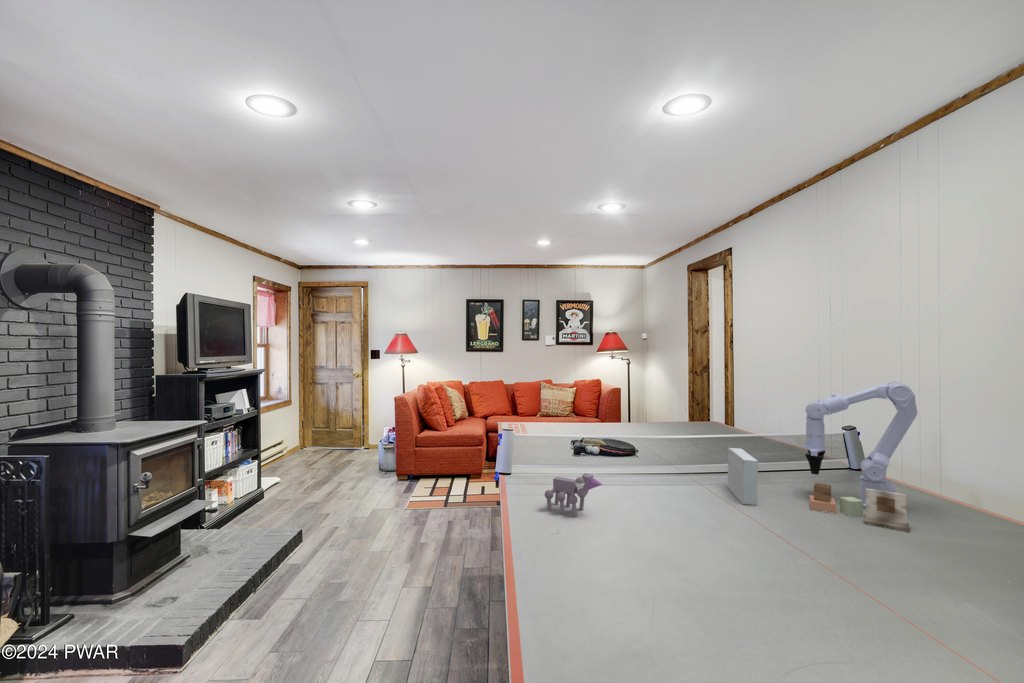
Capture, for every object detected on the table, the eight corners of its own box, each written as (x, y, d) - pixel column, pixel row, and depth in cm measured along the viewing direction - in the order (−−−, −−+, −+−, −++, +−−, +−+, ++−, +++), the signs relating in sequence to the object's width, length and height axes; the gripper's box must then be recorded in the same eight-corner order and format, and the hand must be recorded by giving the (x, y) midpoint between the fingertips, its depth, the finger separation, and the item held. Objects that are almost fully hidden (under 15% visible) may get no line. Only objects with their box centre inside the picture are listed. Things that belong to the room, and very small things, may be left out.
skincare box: (759, 505, 162) (758, 460, 162) (742, 504, 163) (741, 459, 163) (741, 487, 183) (741, 447, 183) (727, 487, 184) (726, 447, 184)
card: (908, 526, 143) (908, 493, 143) (909, 532, 138) (909, 499, 138) (864, 518, 150) (863, 487, 150) (863, 523, 145) (863, 491, 145)
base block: (809, 504, 164) (809, 495, 164) (833, 508, 160) (833, 498, 160) (811, 511, 157) (811, 500, 157) (836, 514, 154) (835, 504, 154)
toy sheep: (609, 512, 156) (608, 473, 155) (596, 524, 147) (595, 482, 146) (557, 502, 167) (555, 464, 166) (542, 512, 158) (541, 473, 158)
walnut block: (815, 496, 162) (815, 482, 162) (831, 499, 159) (830, 484, 159) (814, 499, 158) (813, 485, 158) (829, 502, 156) (829, 487, 156)
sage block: (852, 511, 156) (852, 496, 156) (863, 516, 151) (863, 501, 152) (839, 511, 156) (839, 497, 156) (850, 516, 151) (849, 501, 151)
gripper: (804, 430, 179) (804, 465, 179) (800, 436, 167) (801, 474, 167) (826, 432, 175) (826, 468, 175) (824, 439, 163) (824, 477, 163)
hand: (815, 471), depth 171 cm, fingers open, 7 cm apart
